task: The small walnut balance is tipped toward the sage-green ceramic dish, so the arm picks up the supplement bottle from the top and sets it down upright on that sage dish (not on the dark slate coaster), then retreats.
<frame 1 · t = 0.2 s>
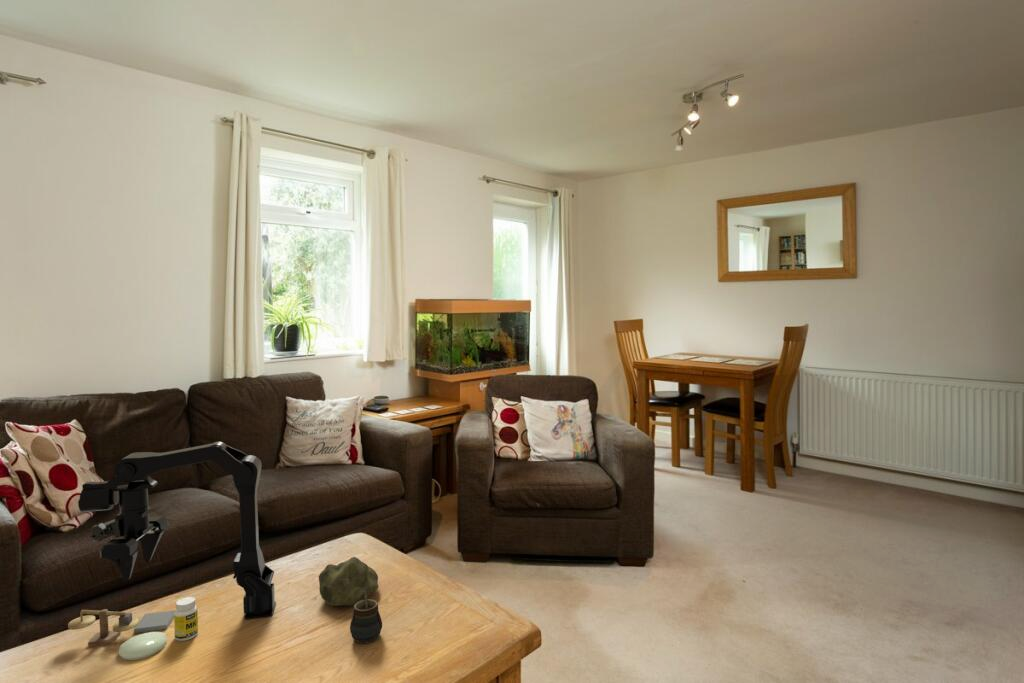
hand: (137, 570, 135), 14 cm above the table, tool pointing down, fingers open, 9 cm apart
decorative rock: (350, 597, 150), on the table
mate gourd: (366, 638, 131), on the table
supplement bottle: (186, 636, 132), on the table
balance: (104, 640, 130), on the table
slate coaster: (155, 623, 137), on the table
sage dish: (143, 648, 127), on the table
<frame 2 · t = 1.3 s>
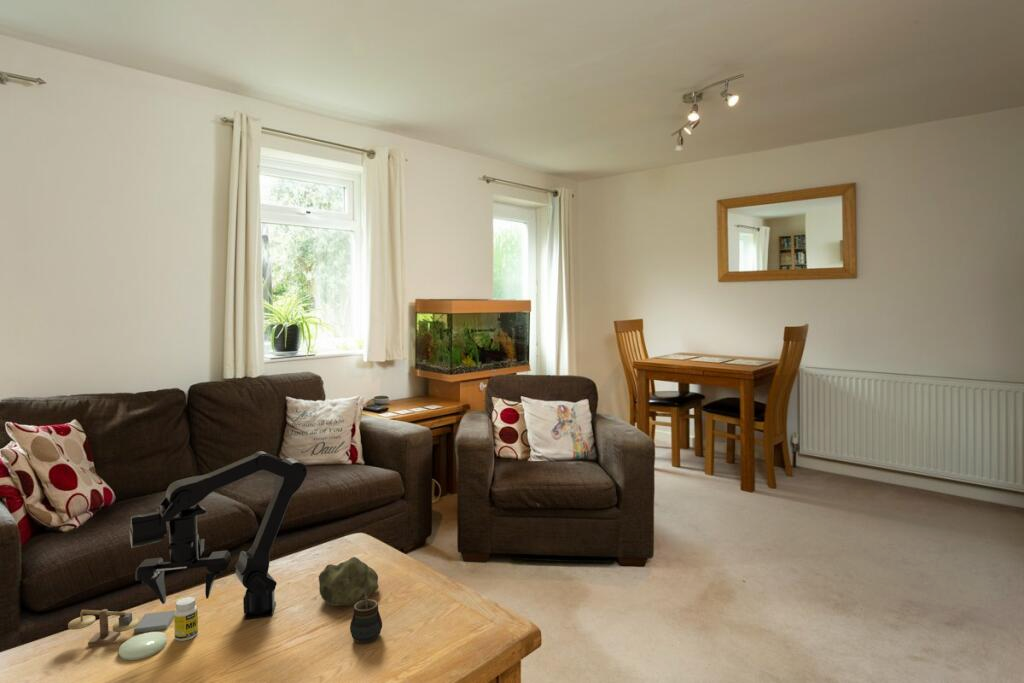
hand: (186, 600, 132), 8 cm above the table, tool pointing down, fingers open, 9 cm apart
nothing on the table moved.
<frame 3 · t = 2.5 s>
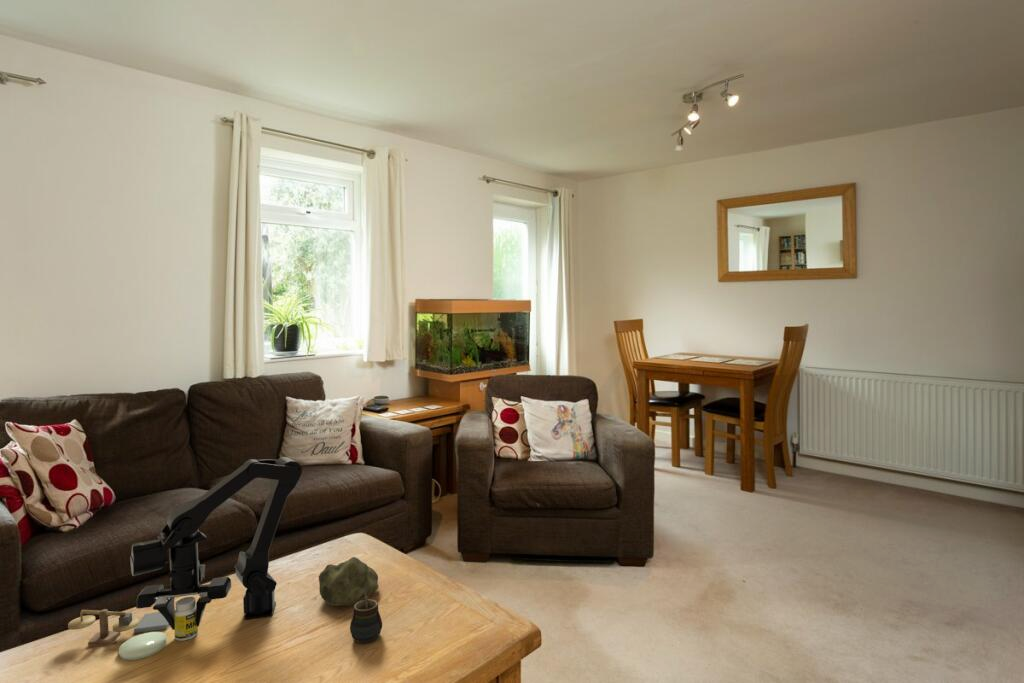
hand: (186, 627, 132), 2 cm above the table, tool pointing down, fingers closed on supplement bottle, 5 cm apart
supplement bottle: (186, 636, 132), on the table, touching gripper
everything else where it was.
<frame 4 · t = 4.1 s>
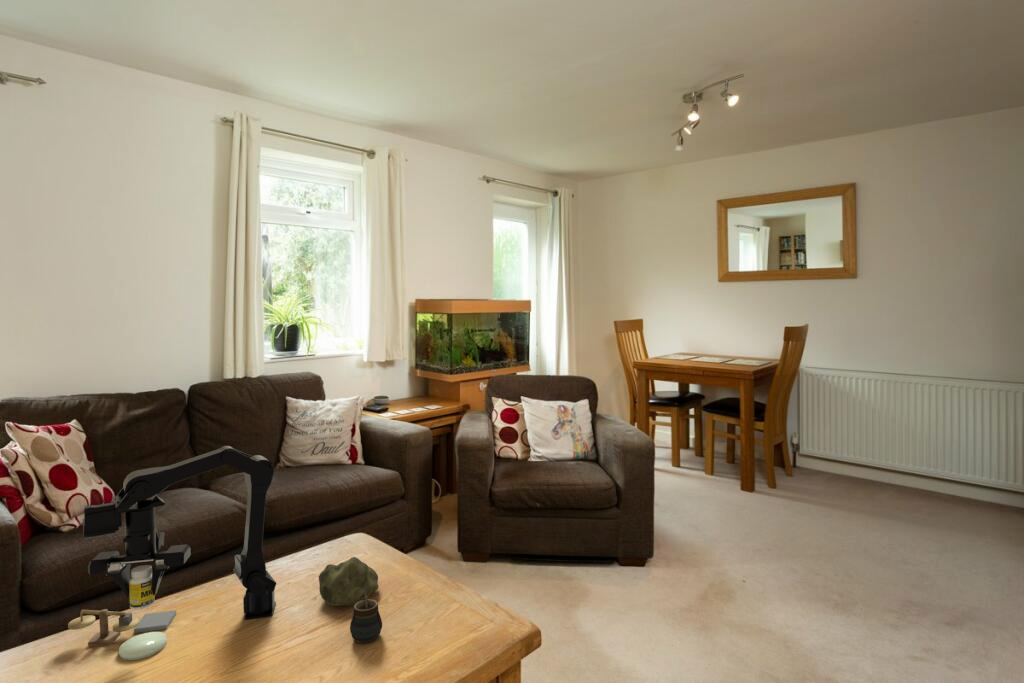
hand: (142, 595, 127), 12 cm above the table, tool pointing down, fingers closed on supplement bottle, 5 cm apart
supplement bottle: (142, 605, 127), point 10 cm above the table, touching gripper
everything else where it was.
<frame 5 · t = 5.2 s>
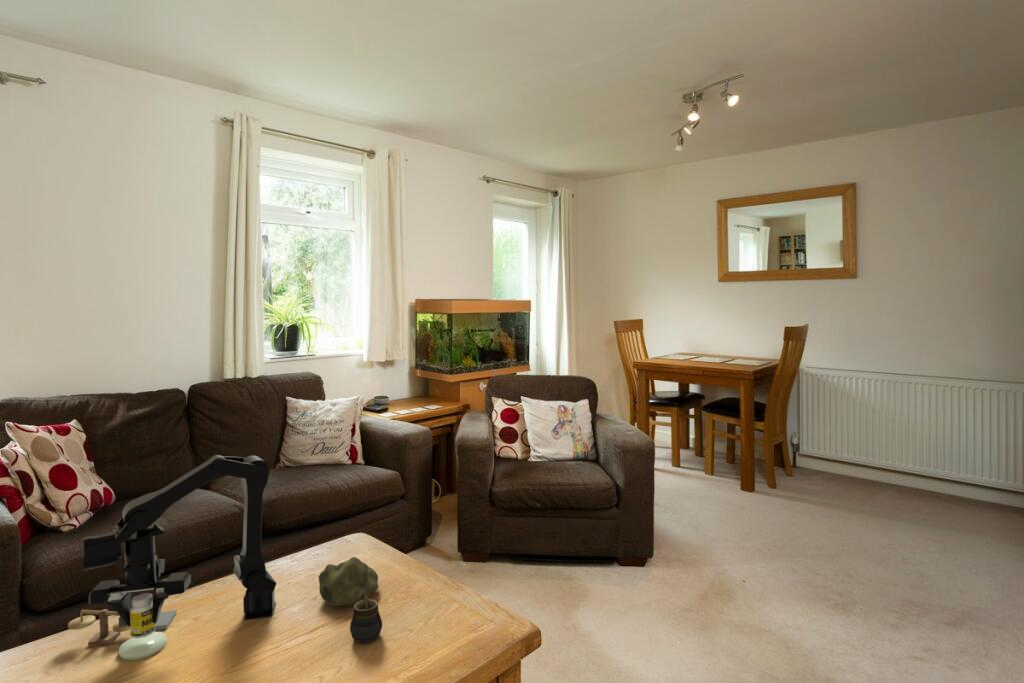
hand: (143, 624, 127), 6 cm above the table, tool pointing down, fingers closed on supplement bottle, 5 cm apart
supplement bottle: (143, 633, 127), point 3 cm above the table, touching gripper
everything else where it was.
when the fingers open (5 cm above the table, at t = 5.7 s): supplement bottle drops 1 cm, resting on sage dish.
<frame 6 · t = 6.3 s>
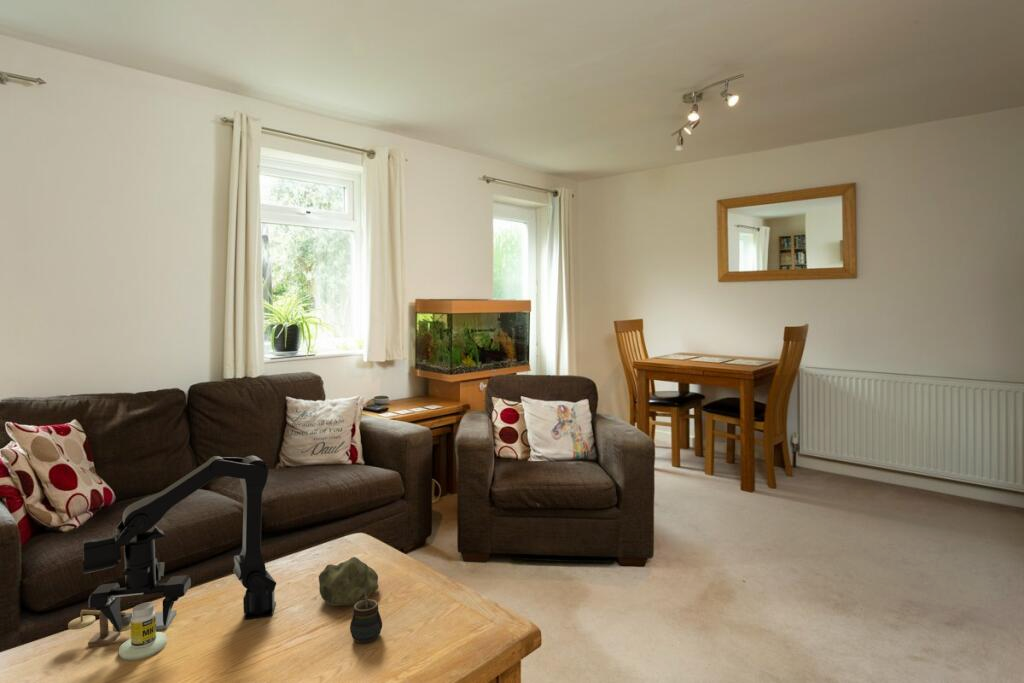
hand: (142, 627, 127), 5 cm above the table, tool pointing down, fingers open, 9 cm apart
supplement bottle: (143, 643, 127), point 1 cm above the table, touching sage dish
everything else where it was.
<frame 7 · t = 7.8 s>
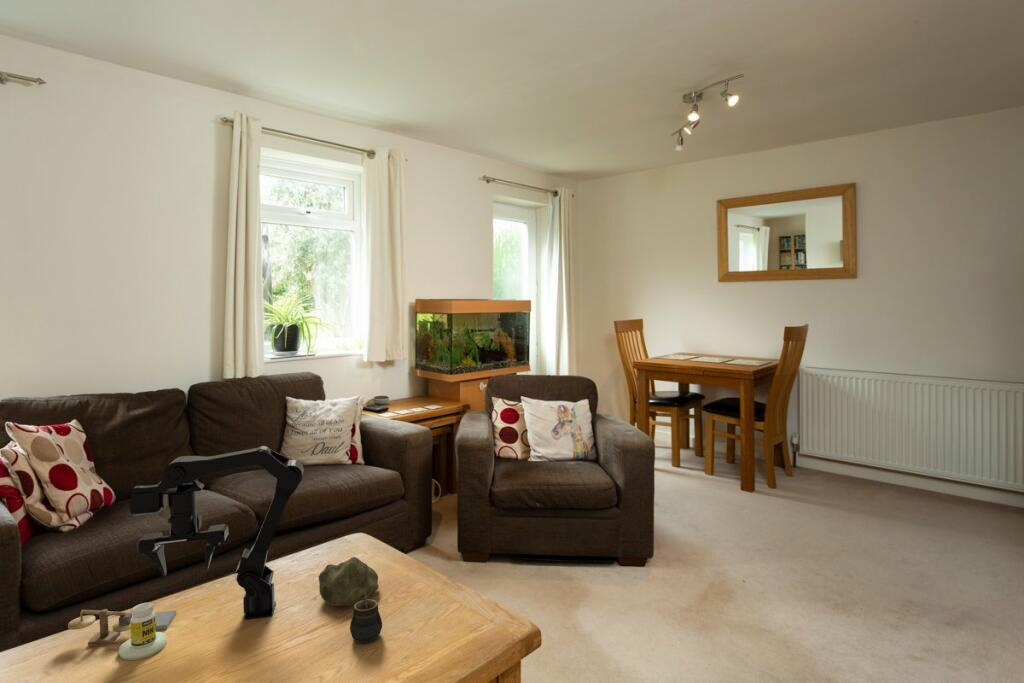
hand: (186, 572, 137), 13 cm above the table, tool pointing down, fingers open, 9 cm apart
nothing on the table moved.
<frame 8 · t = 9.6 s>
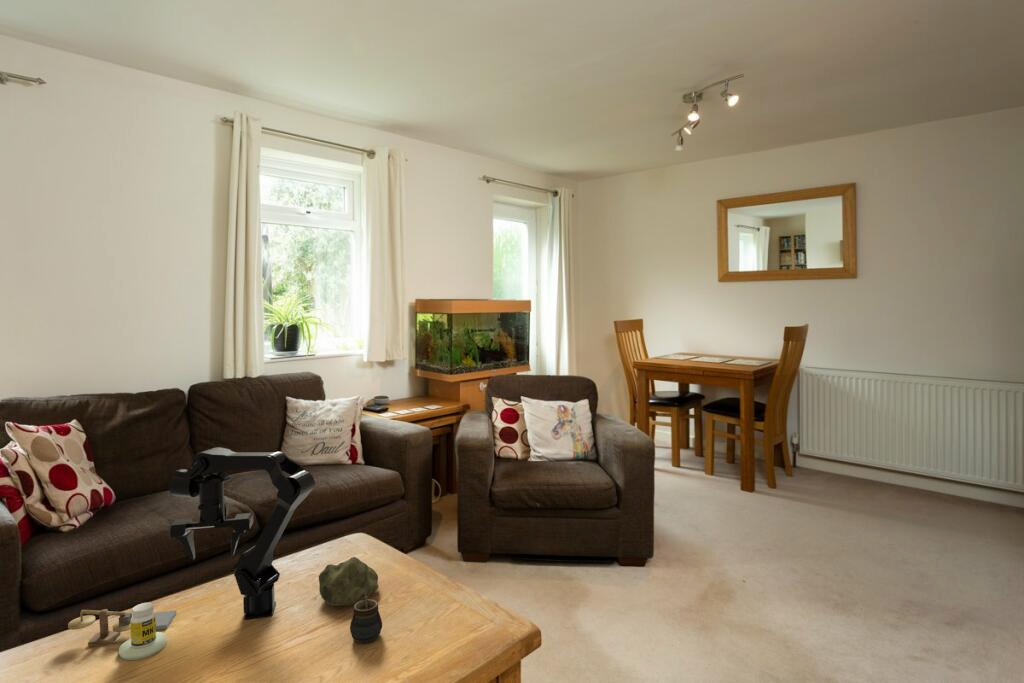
hand: (213, 557, 145), 13 cm above the table, tool pointing down, fingers open, 9 cm apart
nothing on the table moved.
at the end: supplement bottle 0.2 cm from the sage dish (horizontally); supplement bottle tilted 0°; supplement bottle touching sage dish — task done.
